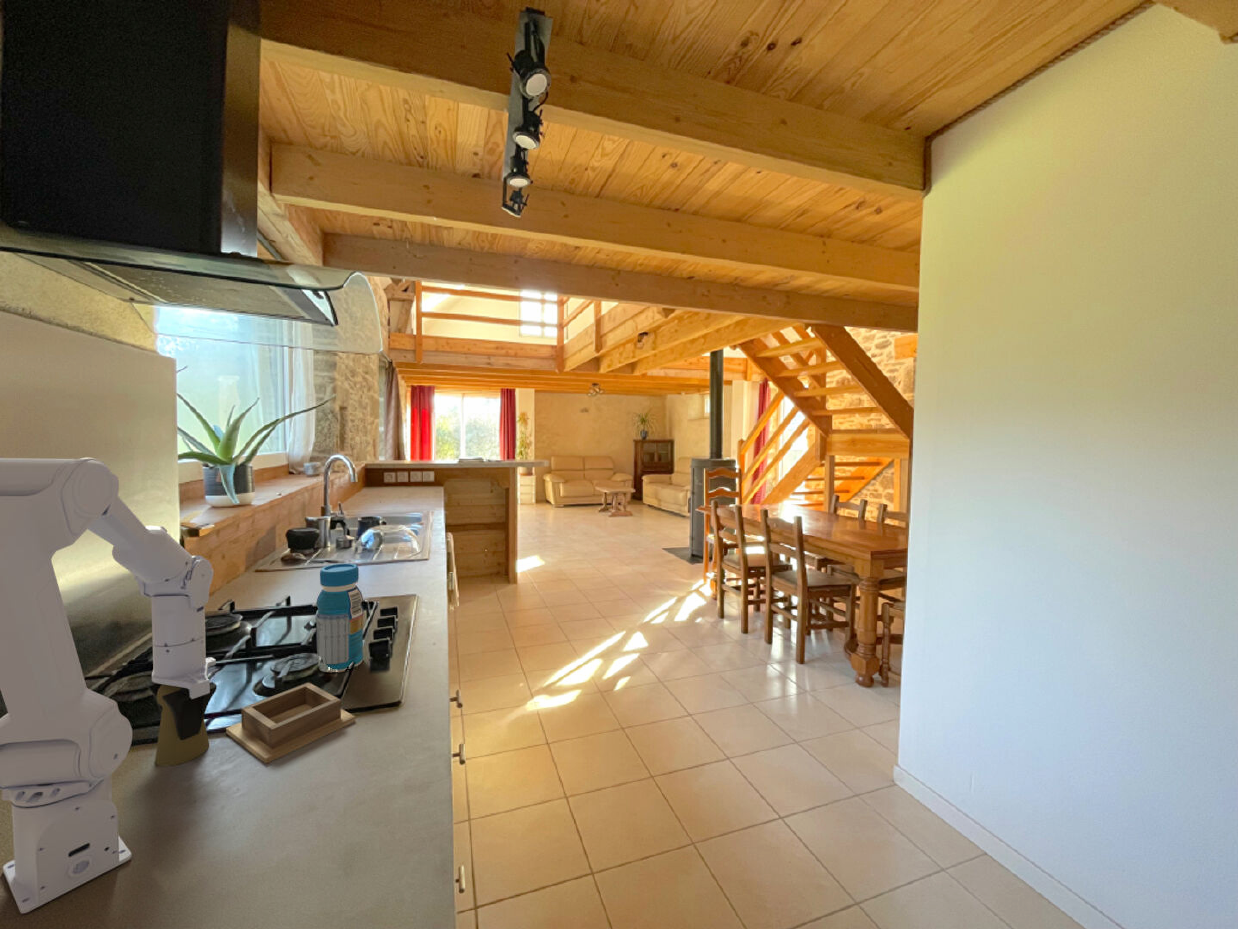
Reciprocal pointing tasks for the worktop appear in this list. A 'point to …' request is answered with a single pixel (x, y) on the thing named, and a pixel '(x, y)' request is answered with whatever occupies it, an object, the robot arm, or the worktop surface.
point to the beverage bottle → (340, 617)
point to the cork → (176, 736)
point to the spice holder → (288, 721)
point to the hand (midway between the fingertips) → (182, 730)
